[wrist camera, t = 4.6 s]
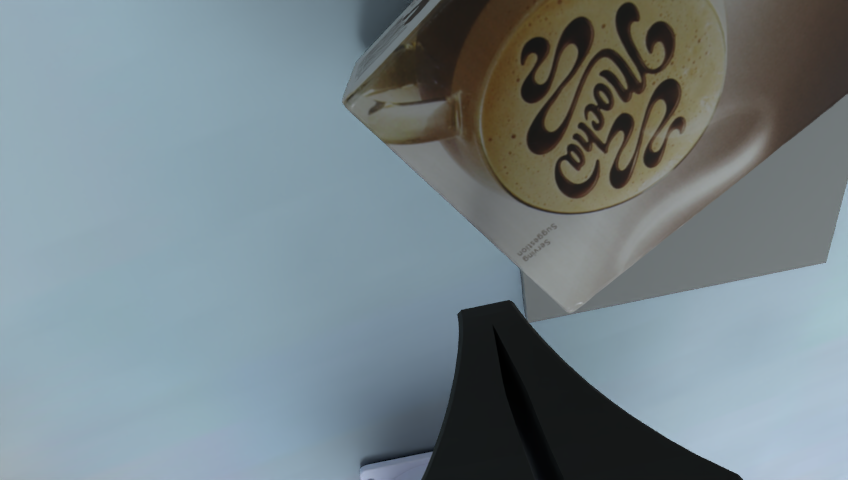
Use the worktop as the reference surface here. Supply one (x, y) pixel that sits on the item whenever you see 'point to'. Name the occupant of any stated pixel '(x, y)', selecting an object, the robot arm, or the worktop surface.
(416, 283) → the worktop surface
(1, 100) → the worktop surface
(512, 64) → the coffee box
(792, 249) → the mat
